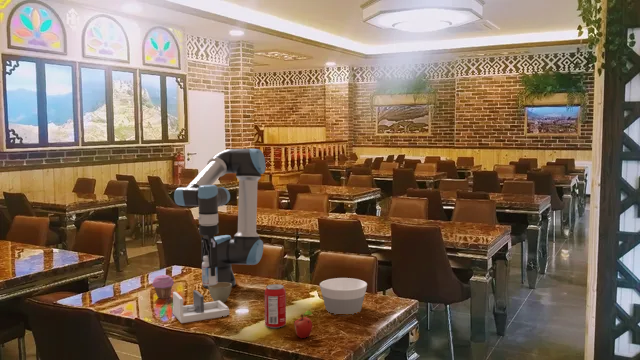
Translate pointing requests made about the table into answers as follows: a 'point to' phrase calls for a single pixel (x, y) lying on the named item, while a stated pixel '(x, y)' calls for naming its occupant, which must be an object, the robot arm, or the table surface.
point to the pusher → (197, 302)
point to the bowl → (343, 295)
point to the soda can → (275, 306)
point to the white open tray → (210, 311)
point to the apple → (303, 325)
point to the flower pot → (220, 291)
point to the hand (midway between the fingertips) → (209, 281)
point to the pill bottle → (206, 272)
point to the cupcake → (163, 286)
